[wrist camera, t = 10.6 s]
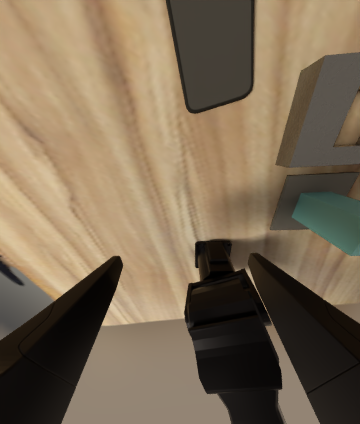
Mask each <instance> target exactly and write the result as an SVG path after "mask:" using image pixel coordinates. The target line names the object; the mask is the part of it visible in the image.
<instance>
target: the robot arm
mask: <svg viewBox="0 0 360 424" xmlns="http://www.w3.org/2000/svg"><path fill="white" fill-rule="evenodd" d="M231 246H232V244H231V242H230V241H215V242H196V243H195V267H196V268H199V274H200V281H199V282H195V283H189V285H188V291H187V298H186V304H185V311H184V315H185V322H186V324H187V328H188V331H189V333H190V336H191V337H192V341H193V345H194V349H195V354H196V360H197V367H198V374H199V379H200V381H201V383H202V385H203V387H204V389H205V391H206V393H207V394H218V396H219V397H220V399H221V400H222V402H223V403H224V405H225V406H226V408H227V410H228V412H229V416H230V420H231V424H286V421H285V419H284V416H283V414H282V411H281V409H280V406H279V403H278V390H281V389H282V375H281V369H280V366H279V358H278V355H277V353H276V351H275V348H274V346H273V344H272V341H271V339H270V336H269V334H268V332H267V330H266V327H265V326H271V325H272V324H271V321H270V318H271V320H272V322H273V324H274V326H275V328H276V331H277V333H278V335H279V337H280V339H281V341H282V343H283V345H284V348H285V350H286V352H287V354H288V356H289V358H290V360H291V363H292V365H293V367H294V369H295V371H296V373H297V375H298V377H299V380H300V382H301V384H302V386H303V388H304V390H305V392H306V393H307V397H308V399H309V401H310V403H311V405H312V407H313V409H314V412H315V414H316V416H317V418H318V420H319V422H320V424H360V324H359V323H358V322H356V321H355V320H353V319H352V318H350V317H349V316H347V315H346V314H344V313H343V312H341V311H340V310H338V309H337V308H336V307H334V306H333V305H331V304H330V303H328V302H327V301H326V300H323V298H321V297H320V296H318V295H317V294H315V293H314V292H313V291H311V290H310V289H308V288H307V287H305V286H304V285H303V284H301V283H300V282H298V281H297V280H295V279H294V278H293V277H291V276H290V275H288V274H287V273H285V272H284V271H283V270H281V269H280V268H278V267H277V266H275V265H274V264H273V263H271V262H270V261H268V260H267V259H265V258H264V257H263V256H261V255H260V254H258V253H251V254H250V256H249V260H248V265H249V268H250V271H251V274H252V277H253V279H254V282H255V285H256V288H257V290H258V292H259V294H260V296H259V294H258V292H257V291H256V289H255V287H254V285H253V283H252V281H251V280H250V278H249V276H248V274H247V272H246V270H245V269H241V270H239V271H236V272H235V270H234V267H233V265H232V262H231V260H230V252H231ZM122 268H123V263H122V260H121V258H120V256H113V257H111V258H110V259H109V260H108V261H106V262H105V263H104V264H102V265H101V266H100V267H98V268H97V269H96V270H95V271H93V272H92V273H91V274H89V275H88V276H87V277H85V278H84V279H83V280H81V281H80V282H79V283H78V284H76V285H75V286H74V287H72V288H71V289H70V290H68V291H67V292H66V293H65V294H63V295H62V296H61V297H59V298H58V299H57V300H56V301H54V302H53V303H51V304H50V305H49V306H47V307H46V308H45V309H44V310H42V311H41V312H39V313H38V314H37V315H35V316H34V317H33V318H31V319H30V320H29V321H27V322H26V323H24V324H23V325H22V326H21V327H19V328H17V329H16V330H14V331H13V332H12V333H10V334H9V335H7V336H6V337H4V338H3V339H2V340H0V424H61V423H62V420H63V418H64V415H65V413H66V411H67V408H68V406H69V403H70V401H71V398H72V396H73V393H74V391H75V389H76V386H77V383H78V381H79V379H80V376H81V374H82V371H83V369H84V366H85V364H86V362H87V359H88V357H89V354H90V352H91V349H92V347H93V344H94V342H95V339H96V337H97V335H98V332H99V330H100V327H101V325H102V322H103V320H104V318H105V315H106V313H107V310H108V308H109V305H110V303H111V301H112V298H113V296H114V293H115V291H116V288H117V285H118V281H119V278H120V275H121V271H122ZM260 297H261V298H260ZM261 299H262V300H261ZM262 301H263V303H264V305H265V307H266V309H267V311H268V313H269V315H270V318H269V316H268V313H267V311H266V309H265V307H264V305H263V303H262Z"/></svg>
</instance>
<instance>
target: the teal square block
mask: <svg viewBox="0 0 360 424" xmlns="http://www.w3.org/2000/svg"><path fill="white" fill-rule="evenodd" d="M292 218H294V219H295V220H297V221H298V222H300V223H301V224H303V225H304V226H306V227H307V228H309V229H310V230H312V231H313V232H315V233H316V234H318V235H319V236H321V237H323V238H324V239H326V240H327V241H329V242H330V243H332V244H333V245H335V246H336V247H338V248H339V249H341V250H342V251H344V252H345V253H347V254H348V255H350V256H360V201H359V200H356V199H352V198H349V197H346V196H343V195H340V194H336V193H333V192H313V193H301V195H300V197H299V200H298V202H297V205H296V207H295V210H294V212H293V215H292Z"/></svg>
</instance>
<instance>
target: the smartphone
mask: <svg viewBox="0 0 360 424" xmlns="http://www.w3.org/2000/svg"><path fill="white" fill-rule="evenodd" d="M166 4H167V9H168V14H169V20H170V25H171V30H172V36H173V41H174V46H175V52H176V57H177V62H178V68H179V73H180V78H181V84H182V89H183V94H184V99H185V105H186V108H187V110H188V111H189V112H190V113H200V112H203V111H206V110H210V109H213V108H216V107H218V106H222V105H226V104H229V103H232V102H235V101H238V100H241V99H243V98H245V97H246V96H247V95H248V94H249V93H250V91H251V89H252V86H253V23H254V0H166Z"/></svg>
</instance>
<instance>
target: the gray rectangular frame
mask: <svg viewBox="0 0 360 424" xmlns="http://www.w3.org/2000/svg"><path fill="white" fill-rule="evenodd" d="M359 90H360V52H358V53H347V54H336V55H326V56H324V57H322V58H321V59H319V60H318V61H316V62H314V63H313V64H311V65H310V66H308V67H307V68H305V69H303V70H302V71H301V73H300V77H299V80H298V84H297V88H296V91H295V95H294V99H293V102H292V106H291V110H290V113H289V117H288V121H287V124H286V128H285V132H284V135H283V139H282V143H281V146H280V150H279V154H278V157H277V161H276V165H279V166H284V167H289V168H292V167H311V166H330V165H349V164H360V137H359V139H358V141H357V143H356V144H355V145H339V146H333V145H334V143H335V141H336V138H337V136H338V134H339V132H340V129H341V127H342V125H343V123H344V120H345V118H346V116H347V113H348V111H349V109H350V107H351V104H352V102H353V100H354V98H355V95H356V93H357V91H359Z"/></svg>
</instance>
